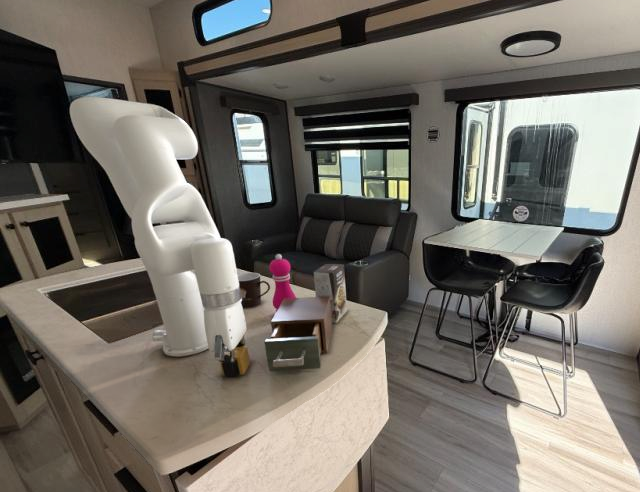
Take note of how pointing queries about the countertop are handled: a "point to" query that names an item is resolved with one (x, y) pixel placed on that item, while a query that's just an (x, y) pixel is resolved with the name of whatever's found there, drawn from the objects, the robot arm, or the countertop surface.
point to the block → (240, 358)
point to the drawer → (294, 347)
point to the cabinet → (306, 314)
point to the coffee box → (332, 288)
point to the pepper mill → (281, 280)
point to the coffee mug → (251, 289)
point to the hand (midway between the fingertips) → (236, 367)
